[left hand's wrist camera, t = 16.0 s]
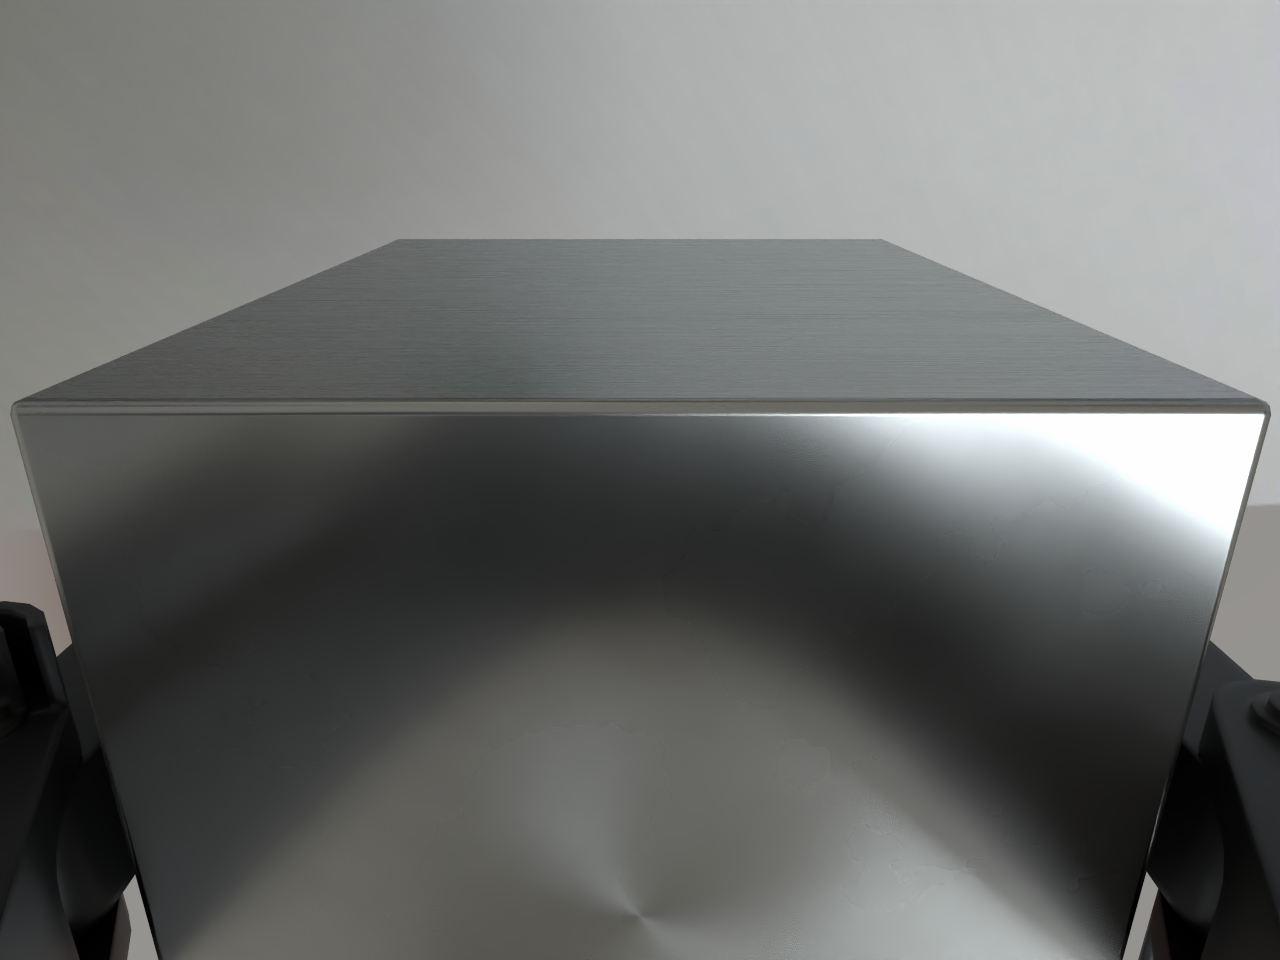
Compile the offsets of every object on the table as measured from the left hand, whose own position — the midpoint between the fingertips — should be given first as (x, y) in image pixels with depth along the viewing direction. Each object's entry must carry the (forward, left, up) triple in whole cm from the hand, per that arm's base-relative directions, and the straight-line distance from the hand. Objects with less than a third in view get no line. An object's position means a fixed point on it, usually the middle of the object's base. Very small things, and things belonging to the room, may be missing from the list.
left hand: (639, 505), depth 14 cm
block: (0, 0, -1) cm, 1 cm away
